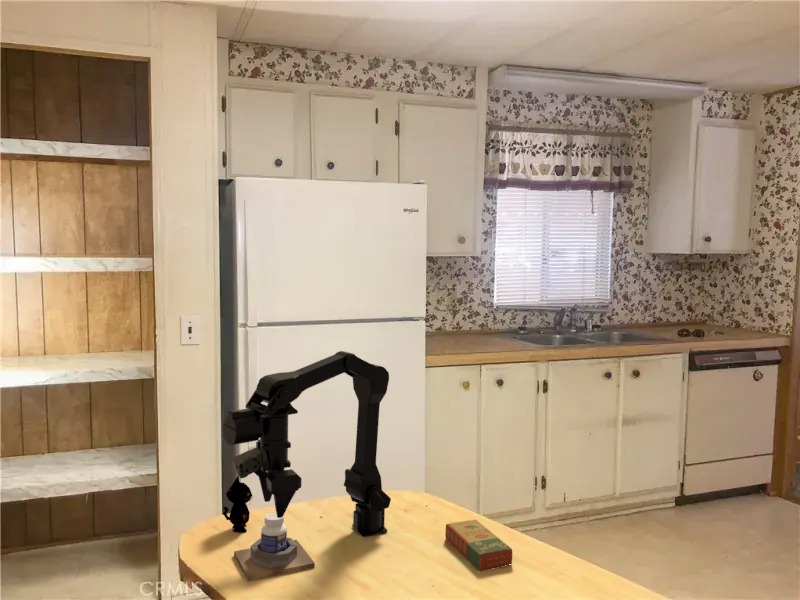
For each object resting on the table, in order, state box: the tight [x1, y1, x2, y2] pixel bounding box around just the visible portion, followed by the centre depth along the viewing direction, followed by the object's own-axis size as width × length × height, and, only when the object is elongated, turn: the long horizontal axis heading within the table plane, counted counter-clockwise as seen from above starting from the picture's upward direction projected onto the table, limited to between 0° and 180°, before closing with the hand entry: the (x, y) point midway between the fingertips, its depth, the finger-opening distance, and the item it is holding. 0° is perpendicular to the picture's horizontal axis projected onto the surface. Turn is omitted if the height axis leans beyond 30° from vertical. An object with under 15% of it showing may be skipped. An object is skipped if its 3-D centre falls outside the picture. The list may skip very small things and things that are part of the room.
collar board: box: [233, 537, 316, 582], centre depth 143 cm, size 14×12×4 cm
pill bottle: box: [260, 512, 288, 553], centre depth 143 cm, size 5×5×9 cm
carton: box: [445, 519, 513, 572], centre depth 150 cm, size 8×16×4 cm, turn 23°
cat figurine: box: [222, 475, 254, 534], centre depth 158 cm, size 7×7×12 cm
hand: (273, 509), depth 142 cm, fingers open, 9 cm apart
